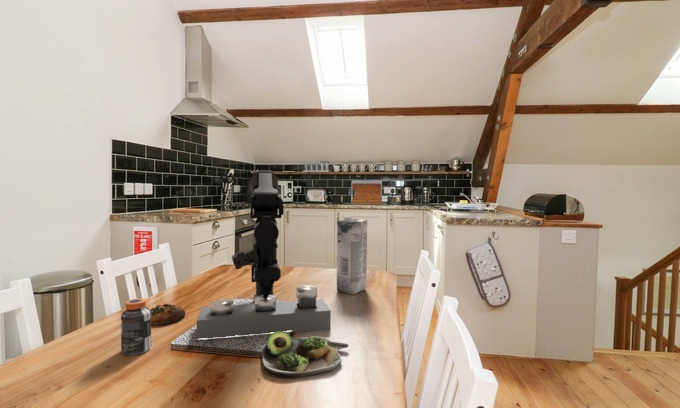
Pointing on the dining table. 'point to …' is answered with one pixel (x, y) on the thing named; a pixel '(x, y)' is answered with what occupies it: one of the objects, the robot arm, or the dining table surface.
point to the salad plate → (298, 354)
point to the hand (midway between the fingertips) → (265, 297)
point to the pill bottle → (135, 328)
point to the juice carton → (351, 255)
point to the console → (263, 320)
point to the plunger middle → (265, 303)
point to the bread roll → (166, 314)
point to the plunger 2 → (306, 296)
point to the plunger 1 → (221, 307)
